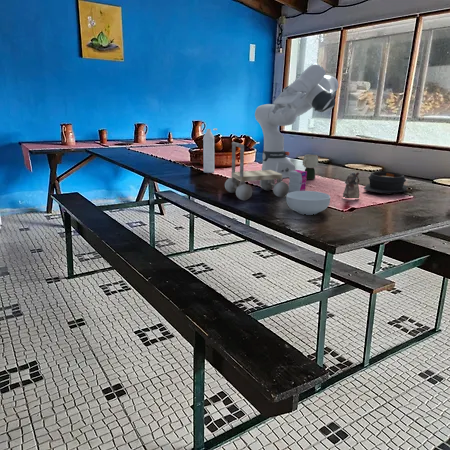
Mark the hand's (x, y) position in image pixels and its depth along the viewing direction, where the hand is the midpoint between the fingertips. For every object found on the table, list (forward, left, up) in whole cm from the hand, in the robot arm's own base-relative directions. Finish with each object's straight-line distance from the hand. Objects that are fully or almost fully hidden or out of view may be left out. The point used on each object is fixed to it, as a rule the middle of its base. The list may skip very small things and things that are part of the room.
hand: (276, 113), depth 188 cm
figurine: (-25, +27, -36) cm, 52 cm away
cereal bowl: (+5, +40, -36) cm, 54 cm away
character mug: (-30, -17, -36) cm, 50 cm away
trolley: (+12, +7, -36) cm, 39 cm away
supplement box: (-5, +15, -36) cm, 39 cm away
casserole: (-50, +20, -36) cm, 65 cm away
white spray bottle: (+15, -54, -36) cm, 66 cm away
